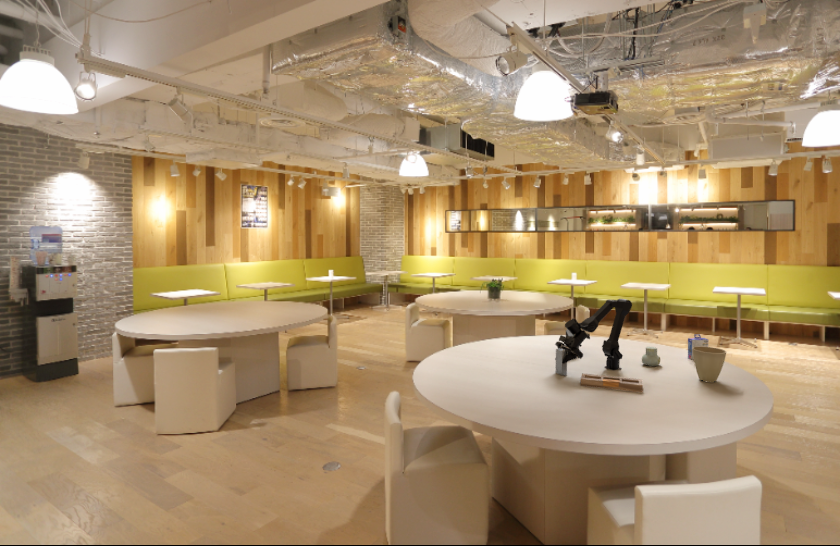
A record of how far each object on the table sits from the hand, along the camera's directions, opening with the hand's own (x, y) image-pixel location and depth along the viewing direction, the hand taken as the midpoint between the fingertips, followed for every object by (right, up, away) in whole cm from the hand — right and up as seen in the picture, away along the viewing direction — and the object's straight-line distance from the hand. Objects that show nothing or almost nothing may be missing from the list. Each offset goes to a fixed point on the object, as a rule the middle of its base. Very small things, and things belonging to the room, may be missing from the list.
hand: (559, 361), depth 262 cm
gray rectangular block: (+1, -7, +1) cm, 7 cm away
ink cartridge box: (+91, -4, +30) cm, 96 cm away
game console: (+22, -3, +50) cm, 54 cm away
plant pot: (+73, -8, -12) cm, 74 cm away
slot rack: (+20, -8, -20) cm, 30 cm away
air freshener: (+57, -5, +17) cm, 60 cm away
